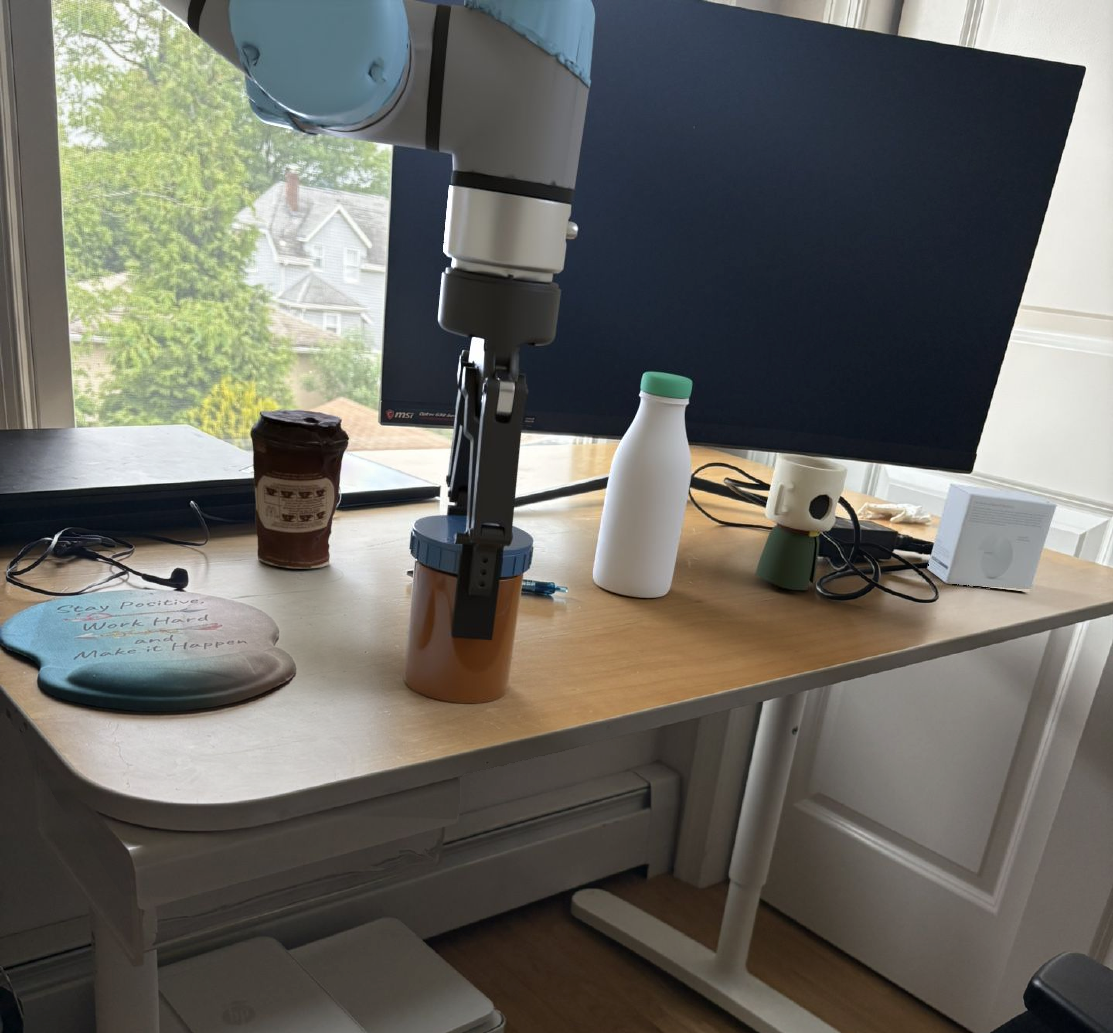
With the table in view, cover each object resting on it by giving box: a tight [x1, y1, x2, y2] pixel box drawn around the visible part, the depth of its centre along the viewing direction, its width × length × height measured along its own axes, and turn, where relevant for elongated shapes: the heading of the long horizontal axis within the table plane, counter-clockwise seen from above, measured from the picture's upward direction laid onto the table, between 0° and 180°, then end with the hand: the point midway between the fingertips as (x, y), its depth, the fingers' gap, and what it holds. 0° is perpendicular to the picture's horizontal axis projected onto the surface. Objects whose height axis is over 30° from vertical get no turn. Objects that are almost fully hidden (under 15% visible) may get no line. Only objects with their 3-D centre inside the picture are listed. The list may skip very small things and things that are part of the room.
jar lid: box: [408, 514, 535, 577], centre depth 78 cm, size 8×8×2 cm
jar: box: [402, 558, 525, 704], centre depth 80 cm, size 8×8×11 cm
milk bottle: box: [592, 371, 693, 599], centre depth 107 cm, size 8×8×20 cm
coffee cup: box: [249, 409, 350, 570], centre depth 100 cm, size 9×8×13 cm
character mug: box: [754, 453, 848, 591], centre depth 117 cm, size 11×7×13 cm, turn 138°
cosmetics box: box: [927, 483, 1057, 590], centre depth 131 cm, size 10×6×10 cm, turn 94°
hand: (464, 614), depth 80 cm, fingers closed on jar lid, 8 cm apart
